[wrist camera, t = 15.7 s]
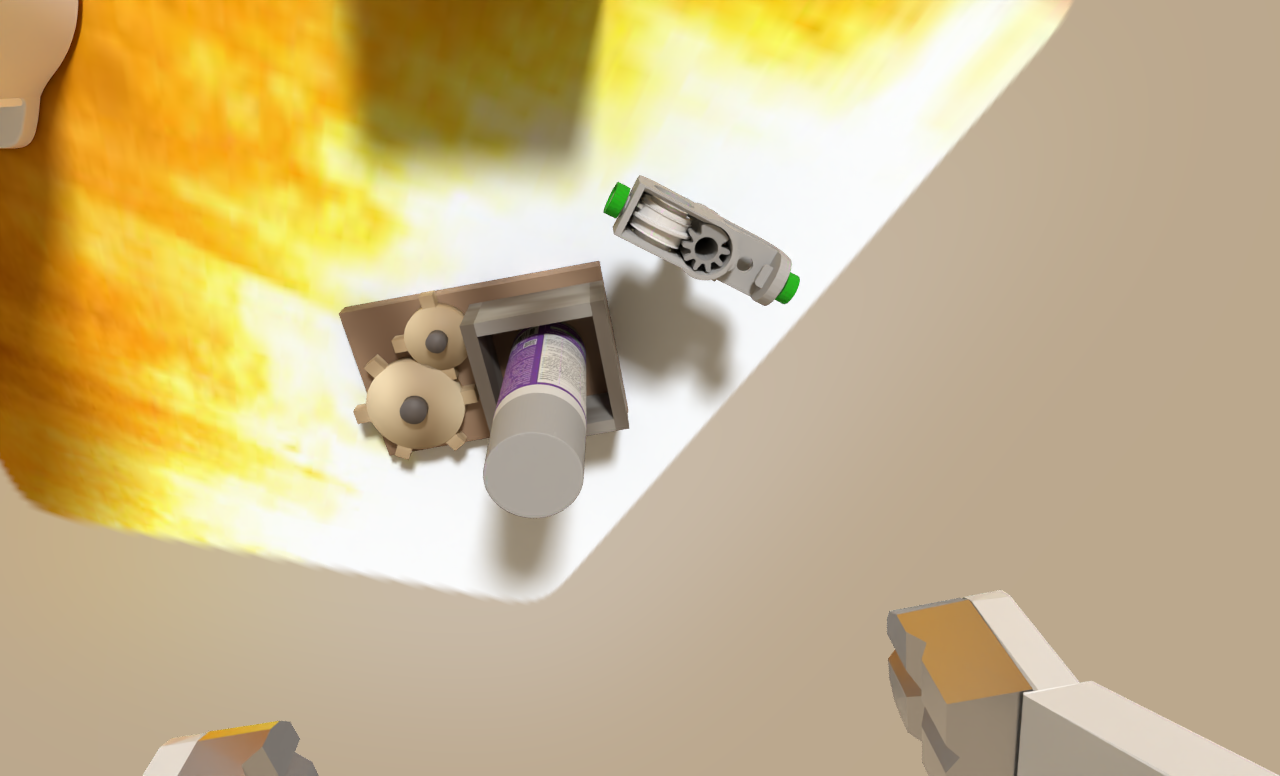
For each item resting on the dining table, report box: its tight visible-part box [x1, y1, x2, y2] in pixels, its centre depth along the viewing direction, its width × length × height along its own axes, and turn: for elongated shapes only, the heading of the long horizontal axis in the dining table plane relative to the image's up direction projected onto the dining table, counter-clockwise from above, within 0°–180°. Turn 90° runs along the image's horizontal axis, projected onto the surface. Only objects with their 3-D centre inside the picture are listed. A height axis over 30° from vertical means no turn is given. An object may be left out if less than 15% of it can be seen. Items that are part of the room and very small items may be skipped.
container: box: [483, 321, 586, 518], centre depth 39 cm, size 5×5×15 cm
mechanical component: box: [604, 175, 800, 306], centre depth 40 cm, size 3×10×10 cm, turn 62°
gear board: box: [339, 261, 629, 460], centre depth 45 cm, size 17×10×5 cm, turn 99°
